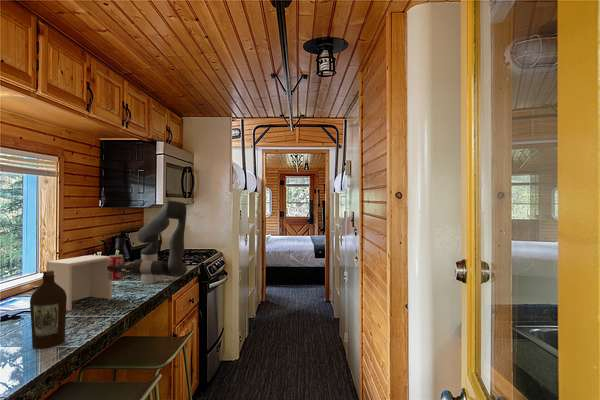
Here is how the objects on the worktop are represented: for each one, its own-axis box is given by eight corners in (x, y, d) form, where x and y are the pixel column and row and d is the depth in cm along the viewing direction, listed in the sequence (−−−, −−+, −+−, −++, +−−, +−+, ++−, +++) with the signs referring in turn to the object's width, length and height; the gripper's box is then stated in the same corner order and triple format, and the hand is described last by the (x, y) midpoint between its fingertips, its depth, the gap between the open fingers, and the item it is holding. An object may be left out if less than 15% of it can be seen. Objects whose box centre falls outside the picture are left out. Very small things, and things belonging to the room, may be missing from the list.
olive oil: (34, 340, 132) (34, 270, 132) (69, 335, 136) (68, 267, 136) (26, 351, 122) (25, 275, 122) (63, 346, 126) (63, 272, 126)
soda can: (126, 278, 187) (126, 254, 186) (120, 281, 180) (120, 256, 179) (112, 278, 186) (112, 254, 186) (105, 281, 179) (105, 256, 179)
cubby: (47, 307, 173) (46, 261, 173) (90, 295, 194) (90, 254, 194) (69, 310, 167) (68, 263, 167) (111, 298, 188) (111, 256, 188)
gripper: (151, 257, 189) (120, 256, 190) (137, 262, 175) (103, 261, 176) (151, 272, 189) (120, 271, 190) (137, 278, 175) (103, 277, 176)
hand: (112, 266), depth 183 cm, fingers closed on soda can, 7 cm apart
